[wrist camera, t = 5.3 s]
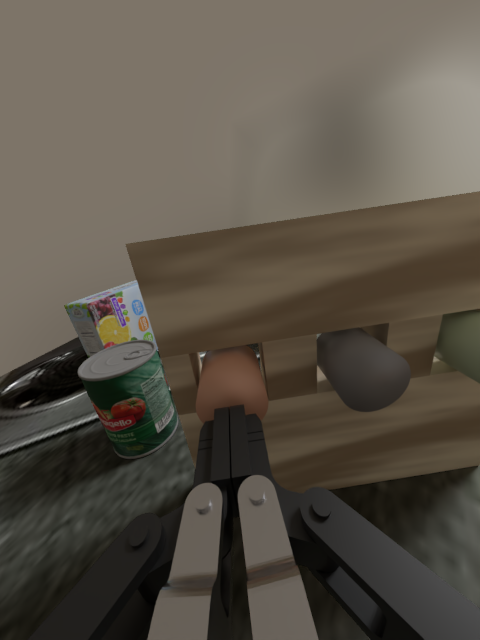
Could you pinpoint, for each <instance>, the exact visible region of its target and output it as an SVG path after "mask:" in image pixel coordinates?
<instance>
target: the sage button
mask: <svg viewBox="0 0 480 640" xmlns="http://www.w3.org/2000/svg"><path fill="white" fill-rule="evenodd" d="M434 357H435V358H437V359H439V360H440V361H442V362H444V363H446V364H447V365H449V366H451V367H452V368H454V369H456V370H457V371H459V372H461V373H462V374H464V375H466V376H468V377H469V378H471V379H473V380H474V381H476V382H478V383H479V384H480V311H479V310H475V309H474V310H468V311H461V312H455V313H448V314H443V316H442V321H441V325H440V330H439V335H438V340H437V344H436V349H435V354H434Z"/></svg>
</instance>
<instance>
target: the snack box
mask: <svg viewBox="0 0 480 640" xmlns="http://www.w3.org/2000/svg"><path fill="white" fill-rule="evenodd" d="M64 306H65V309H66V311H67V313H68V315H69V317H70V319H71V322H72V324H73V326H74V328H75V330H76V332H77V334H78V336H79V339H80V341H81V343H82V345H83V347H84V349H85V351H86V353H87V355H88V358H89V357H91V356H93V355H94V354H96V353H98V352H100V351H101V350H104V349H106V348H108V347H111V346H113V345H116V344H120V343H123V342H127V341H133V340H149V341H152V342H154V343H155V345H156V349H157V350H158V347H157V344H156V341H155V337H154V334H153V331H152V328H151V325H150V321H149V318H148V315H147V312H146V308H145V305H144V302H143V299H142V296H141V292H140V289H139V286H138V283H137V280H135V281H132V282H129V283H126V284H123V285H120V286H117V287H115V288H112V289H109V290H106V291H103V292H100V293H97V294H94V295H91V296H89V297H86V298H83V299H80V300H77V301H74V302H71V303H68V304H66V305H64Z"/></svg>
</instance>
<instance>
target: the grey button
mask: <svg viewBox="0 0 480 640" xmlns="http://www.w3.org/2000/svg"><path fill="white" fill-rule="evenodd" d="M317 365H318V367H319V368H320V370H321V371H322V373H323V374H324V375H325V377H326V378H327V380H328V381H329V382H330V384H331V385H332V387H333V388H334V390H335V391H336V392H337V394H338V395H339V397H340V398H341V399H342V401H343V402H344V404H345V405H346V406H348V407H349V408H351V409H353V410H355V411H359V412H372V411H377V410H380V409H383V408H385V407H387V406H389V405H391V404H392V403H394V402H395V401H396V400H397V399H399V398H400V397H401V395H402V394H403V393H404V392H405V390H406V389H407V387H408V385H409V382H410V378H411V370H410V366H409V364H408V363H407V361H406V360H405V359H404V358H403V357H401V356H400V355H399V354H397V353H396V352H394V351H393V350H391V349H390V348H389V347H387V346H386V345H384V344H383V343H381V342H380V341H378V340H377V339H376V338H374V337H373V336H371V335H370V334H368V333H367V332H366V331H364V330H363V329H361V328H360V327H358V328H352V329H345V330H339V331H332V332H326V333H322V334H321V335H320V336H319V337H318V339H317Z"/></svg>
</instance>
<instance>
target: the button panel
mask: <svg viewBox="0 0 480 640" xmlns="http://www.w3.org/2000/svg"><path fill="white" fill-rule="evenodd" d="M126 247H127V251H128V254H129V257H130V260H131V263H132V267H133V270H134V273H135V276H136V280H137V283H138V286H139V289H140V292H141V296H142V299H143V302H144V305H145V308H146V312H147V315H148V318H149V321H150V325H151V328H152V331H153V334H154V337H155V341H156V344H157V347H158V350H159V354H160V357H161V360H162V363H163V366H164V370H165V373H166V376H167V379H168V382H169V386H170V389H171V392H172V395H173V399H174V402H175V405H176V408H177V411H178V415H179V418H180V421H181V424H182V427H183V431H184V434H185V437H186V440H187V444H188V447H189V450H190V453H191V456H192V460H193V463H194V466H195V468H196V460H197V452H198V444H199V435H200V430H201V428H202V426H203V425H204V424H203V423H202V422H201V420H200V419H199V417H198V415H197V412H196V399H197V393H198V387H199V381H200V375H201V369H202V364H201V360H200V355H199V352H203V351H210V350H216V349H223V348H229V347H236V346H242V345H248V344H255V343H258V346H259V354H260V362H261V371H262V378H263V382H264V385H265V389H266V393H267V397H268V410H267V413H266V415H265V416H264V418H263V419H262V420H261V422H262V427H263V433H264V438H265V443H266V448H267V453H268V458H269V463H270V468H271V473H272V476H273V478H274V479H275V481H276V482H277V483H278V484H279V485H280V486H281V487H283V488H284V489H286V490H289V491H293V492H298V493H304V492H305V491H306V490H308V489H310V488H312V487H322V488H325V489H327V490H332V489H338V488H344V487H350V486H356V485H363V484H369V483H375V482H381V481H387V480H393V479H399V478H405V477H411V476H418V475H424V474H430V473H436V472H442V471H448V470H454V469H460V468H466V467H472V466H479V464H480V384H479V383H478V382H476V381H474V380H473V379H471V378H469V377H468V376H466V375H464V374H462V373H461V372H459V371H457V370H456V369H454V368H452V367H451V366H449V365H447V364H446V363H444V362H442V361H440V360H439V359H437V358H435V357H434V354H435V349H436V344H437V340H438V335H439V330H440V325H441V321H442V316H443V314H448V313H455V312H461V311H468V310H474V309H475V310H479V311H480V191H479V192H472V193H466V194H459V195H452V196H446V197H439V198H432V199H425V200H418V201H412V202H405V203H398V204H392V205H385V206H378V207H371V208H365V209H358V210H352V211H345V212H338V213H332V214H325V215H318V216H311V217H304V218H297V219H291V220H284V221H277V222H271V223H264V224H257V225H250V226H244V227H237V228H230V229H224V230H217V231H210V232H203V233H197V234H190V235H183V236H176V237H170V238H163V239H157V240H150V241H143V242H136V243H130V244H126ZM358 327H360V328H361V329H363V330H364V331H366V332H367V333H368V334H370V335H371V336H373V337H374V338H376V339H377V340H378V341H380V342H381V343H383V344H384V345H386V346H387V347H389V348H390V349H391V350H393V351H394V352H396V353H397V354H399V355H400V356H401V357H403V358H404V359H405V360H406V361H407V363H408V364H409V366H410V370H411V378H410V382H409V385H408V387H407V389H406V390H405V392H404V393H403V394H402V395H401V397H400V398H399V399H397V400H396V401H395V402H394V403H392V404H391V405H389V406H387V407H385V408H383V409H380V410H377V411H372V412H359V411H355V410H353V409H351V408H349V407H348V406H346V405H345V404H344V402H343V401H342V399H341V398H340V397H339V395H338V394H337V392H336V391H335V390H334V388H333V387H332V385H331V384H330V382H329V381H328V380H327V378H326V377H325V375H324V374H323V373H322V371H321V370H320V368H319V367H317V334H319V333H326V332H332V331H339V330H345V329H352V328H358Z"/></svg>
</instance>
